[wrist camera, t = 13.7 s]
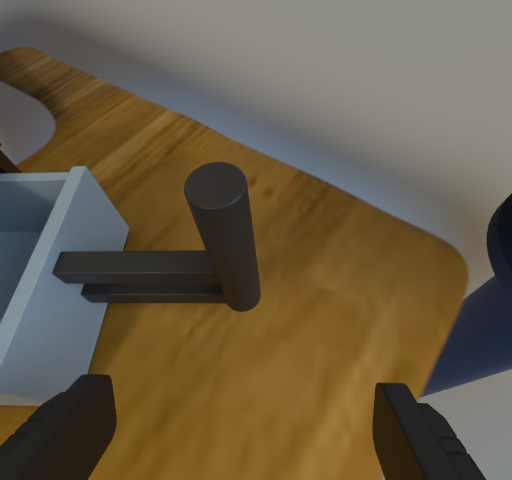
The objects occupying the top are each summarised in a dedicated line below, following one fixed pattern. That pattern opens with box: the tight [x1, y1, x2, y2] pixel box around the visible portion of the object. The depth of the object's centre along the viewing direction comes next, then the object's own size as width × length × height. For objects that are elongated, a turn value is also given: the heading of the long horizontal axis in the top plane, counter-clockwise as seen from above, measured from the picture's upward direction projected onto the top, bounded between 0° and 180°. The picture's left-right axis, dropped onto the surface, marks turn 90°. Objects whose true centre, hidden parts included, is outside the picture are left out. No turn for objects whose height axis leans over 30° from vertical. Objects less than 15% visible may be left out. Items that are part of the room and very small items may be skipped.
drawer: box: [0, 162, 261, 406], centre depth 15 cm, size 23×11×10 cm, turn 88°
